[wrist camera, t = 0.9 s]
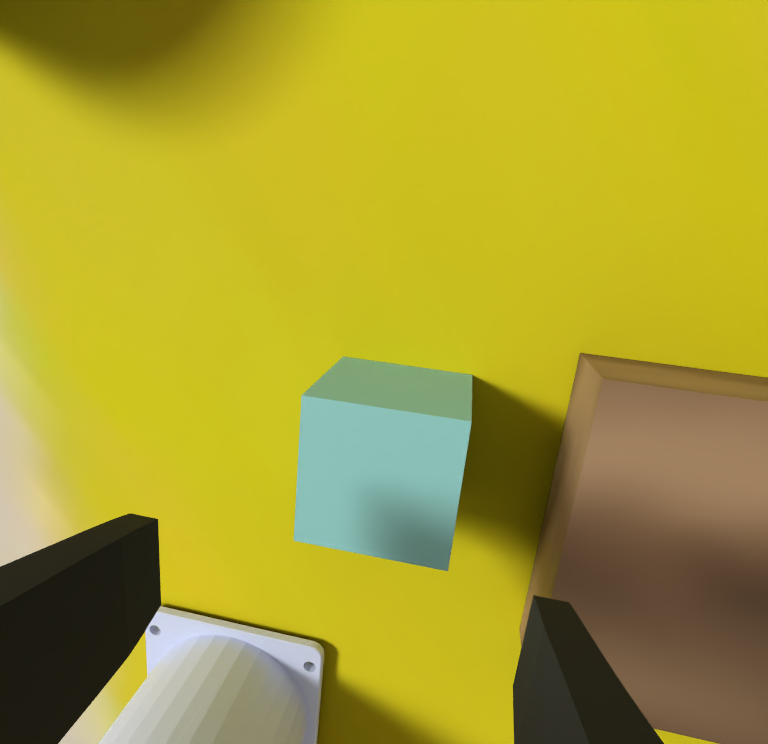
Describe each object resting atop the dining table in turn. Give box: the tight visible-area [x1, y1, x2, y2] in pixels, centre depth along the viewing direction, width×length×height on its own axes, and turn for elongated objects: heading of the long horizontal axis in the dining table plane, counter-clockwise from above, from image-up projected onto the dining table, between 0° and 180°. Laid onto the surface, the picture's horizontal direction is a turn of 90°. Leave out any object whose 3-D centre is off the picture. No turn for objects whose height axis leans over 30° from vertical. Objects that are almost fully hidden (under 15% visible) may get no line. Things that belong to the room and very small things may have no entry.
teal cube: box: [294, 357, 472, 571], centre depth 16 cm, size 4×4×4 cm
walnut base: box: [520, 353, 768, 744], centre depth 15 cm, size 11×11×3 cm
